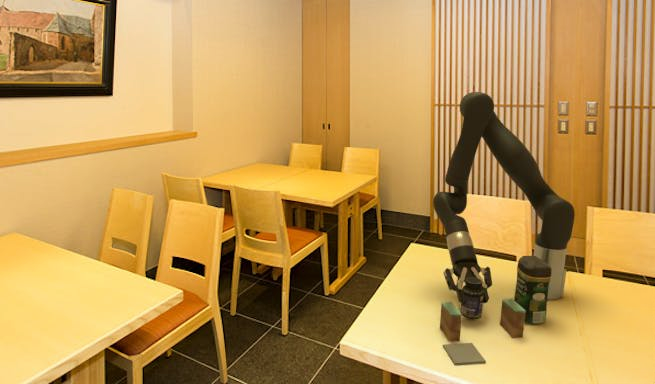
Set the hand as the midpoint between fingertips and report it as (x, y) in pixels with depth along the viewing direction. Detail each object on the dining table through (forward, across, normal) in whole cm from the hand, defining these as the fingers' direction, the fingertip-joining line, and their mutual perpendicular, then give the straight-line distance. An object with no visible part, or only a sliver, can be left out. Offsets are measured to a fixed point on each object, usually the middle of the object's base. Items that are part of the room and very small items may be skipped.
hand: (474, 302), depth 124 cm
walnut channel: (+8, 0, +1) cm, 8 cm away
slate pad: (+15, -9, -6) cm, 18 cm away
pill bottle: (+2, 0, +5) cm, 5 cm away
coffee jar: (+4, +18, +6) cm, 19 cm away
